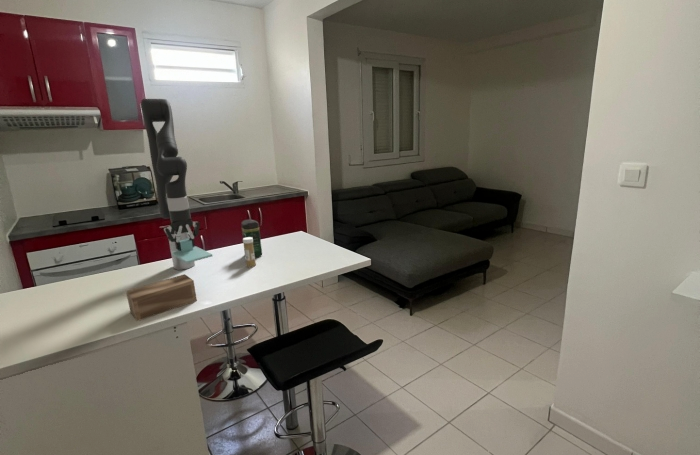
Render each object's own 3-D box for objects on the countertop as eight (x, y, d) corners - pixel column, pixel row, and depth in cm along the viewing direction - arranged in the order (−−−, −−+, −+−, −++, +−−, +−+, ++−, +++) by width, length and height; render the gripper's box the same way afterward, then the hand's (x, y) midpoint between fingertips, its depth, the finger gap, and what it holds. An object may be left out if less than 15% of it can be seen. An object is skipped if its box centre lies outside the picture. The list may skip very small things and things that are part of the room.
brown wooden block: (130, 312, 126) (125, 290, 124) (188, 293, 139) (184, 274, 137) (137, 320, 120) (132, 298, 118) (196, 300, 133) (193, 280, 131)
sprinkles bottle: (257, 265, 166) (254, 238, 162) (247, 268, 164) (244, 240, 160) (254, 263, 170) (250, 236, 166) (244, 265, 167) (241, 238, 164)
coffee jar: (264, 256, 178) (260, 220, 174) (248, 259, 174) (244, 223, 170) (258, 251, 186) (254, 217, 182) (243, 254, 182) (238, 219, 178)
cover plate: (171, 254, 145) (169, 242, 143) (196, 248, 151) (194, 237, 150) (186, 263, 134) (184, 251, 132) (212, 256, 140) (210, 244, 139)
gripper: (193, 204, 149) (199, 242, 153) (156, 210, 139) (164, 251, 143) (200, 206, 143) (206, 246, 148) (163, 212, 134) (171, 255, 138)
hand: (185, 248), depth 146 cm, fingers closed on cover plate, 4 cm apart
